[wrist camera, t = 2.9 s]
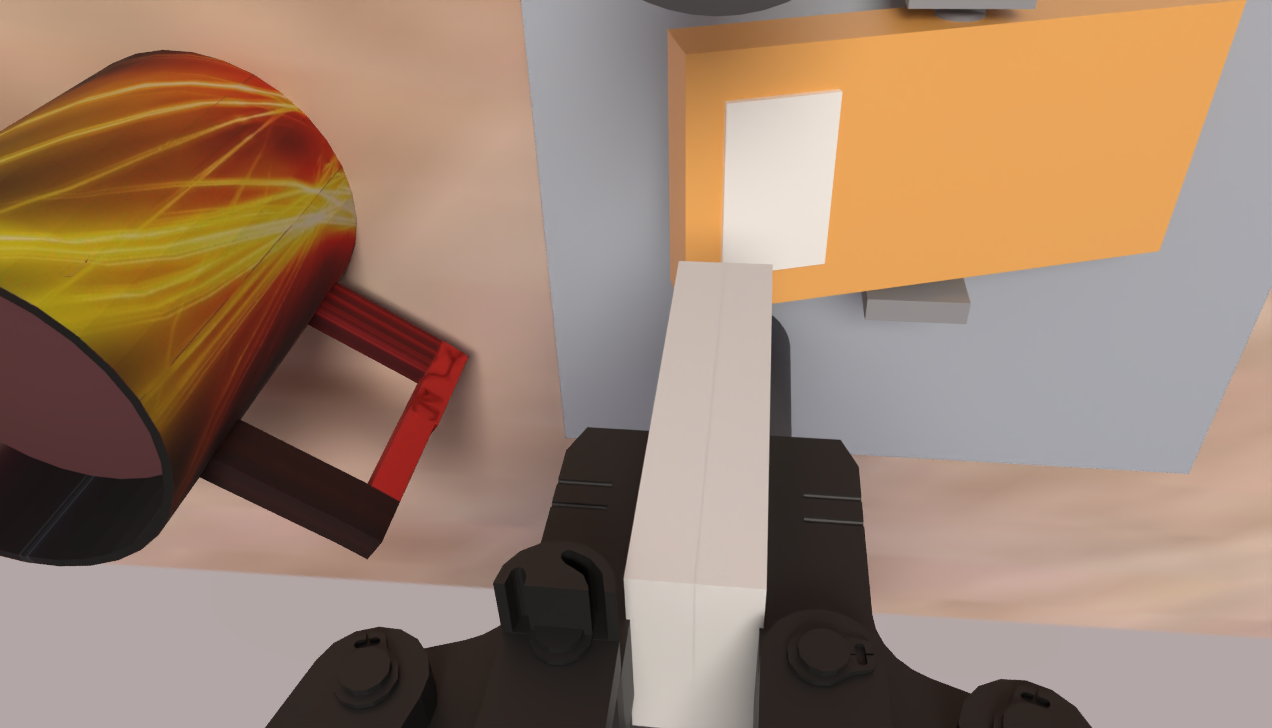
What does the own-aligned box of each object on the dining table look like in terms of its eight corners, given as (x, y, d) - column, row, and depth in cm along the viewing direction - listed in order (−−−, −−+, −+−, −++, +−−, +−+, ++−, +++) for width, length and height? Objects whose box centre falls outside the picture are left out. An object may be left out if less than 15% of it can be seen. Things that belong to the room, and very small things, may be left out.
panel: (580, 383, 34) (541, 524, 29) (503, -508, 20) (396, -573, 14) (1158, 412, 32) (1238, 572, 26) (1547, -574, 17) (1904, -681, 12)
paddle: (670, 283, 23) (687, 322, 21) (667, 24, 19) (687, 51, 18) (1119, 224, 24) (1161, 257, 23) (1197, -25, 21) (1253, -4, 19)
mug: (476, 354, 34) (359, 624, 25) (107, 289, 34) (-150, 530, 25) (484, 102, 28) (334, 328, 19) (38, 25, 28) (-334, 209, 19)
